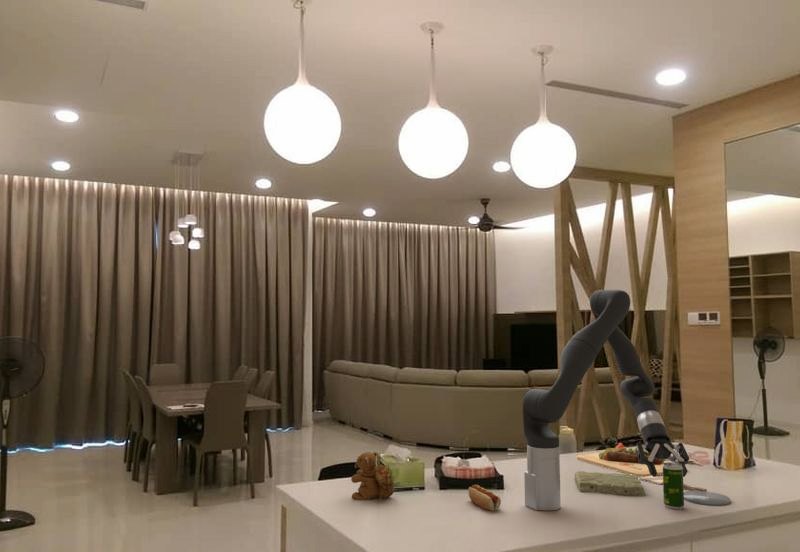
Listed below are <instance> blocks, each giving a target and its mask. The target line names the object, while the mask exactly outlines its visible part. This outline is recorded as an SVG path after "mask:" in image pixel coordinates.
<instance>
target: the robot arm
mask: <svg viewBox="0 0 800 552" xmlns="http://www.w3.org/2000/svg"><path fill="white" fill-rule="evenodd" d="M589 308H590V311H591V313H592V314H593V316H594V319H595V320H594V321H592V322H591V323H589V324H588V325H585V327H582V328H581V329H580V330H578V331H577V332H575V334H573V335H572V337H570V339H569V340H568V342H567V344H566V345H565V346H564V347H563V349H562V352H561V354H560V359H559V360H560V363H559V369H560V370H559V375H558V377H557V379H556V380H555V382H554V384H553V385H552V386H551V387H550V388H549V389H540V388H532V389H529V390H528V391H527V392H525V395H524V397H523V401H522V419H523V422H522V423H523V432H524V433H523V434H524V437H525V439H526V465H527V466H526V468H527V470H526V471H524V473H523V474H524V505H525V506H526V507H528V508H531V509H532V510H534V511H548V512H549V511H556V510H559V509H561V507H562V506H561V463H560V461H561V459H560V455H561V454H560V437H559V436H558V435H557V433H555V432H554V431H553V430H552V429H551V428H550V426H549V424H555V423H557V422H558V421H559V420H561V419H562V417H563V416H564V414H565V413H566V411H567V409H568V406H569V404H570V403H571V401H572V398H573V396H574V394H575V392H576V390H577V388H578V387H579V385H580V383H581V381H582V380H583V378H584V376H585V375H586V373H587V371H588V370H589V368H591V366H592V364H593V363H594V361H595V360H596V359H597V356H598V354H599V353H600V352H601V349H602V348H603V347H604V345H605V343H606V342H607V343H608V344H609V346H610V348H611V351H612V353H613V355H614V359H615V361H616V364H617V368H618V370H619V372H620V373H621V375H623V376H626V377H630V378H627V379H623V380H622V381H621V383H620V385H619V389H620V392H621V394H622V396H623V397H624V398H625V400H626V401H627V402H628V404H629V405H630V407H631V408H632V410H633V412H634V415H635V418H636V421H637V426H638V430H639V432H640V435H641V437H642V440H643V443H644V444H642V443H641V442H637V444H636V446H635V448H636V452H637V455H638V459H639V463H640V464H646V465H647V467H648V469H649V472H650V474H651V475H652V476H653V477H657V476H656V475H657V471H656V468H655V465H654V462H652V461H653V459H654V457H655V458H657V459H665V460H669V461H671V463H679V464H681V465H682V468H683V478H685V477H686V476H687V473H688V472H687V471H688V468H687V467H686V465H687V464H688V462H689V461H690V457H689V455H688V452H687V450H686V448H685V446H684V444H683V443H682V442H679V443H678V444H673V443H672V441H671V438H670V435H669V433H668V430H667V428H666V426H665V425H666V424H665V423H664V420H663V418H662V417H661V415H660V414H661V413H660V412H659V410H658V407H657V405H656V402H655V401H654V400H653V399H652V398H650V396H652V395H653V394H654V393H655V390H656V387H655V384H654V382H653V380H652V378H651V377H650V376H649V375H648V374H647V372H646V371H645V369H644V368H643V365H642V363H641V360H640V357H639V354H638V351H637V349H636V347H635V345H634V343H632V341H631V340H630V339H629V337H628V336H627V335H626V334H625V333H624V332H623V331H622V329H620V327H619V325H620V324H621V323H622V322H623V320H624V319H625V317H626V316H627V315H628V313H629V311H630V308H631V297H630V295H629V294H628V293H627V292H626V291H624V290H621V289H598V290H595V291H593V292H592V294H591V296H590V299H589ZM645 450H646V451H647V452H649V453H650V456H649V458H648V459H647V458H645V454H644V451H645ZM686 468H687V469H686Z"/></svg>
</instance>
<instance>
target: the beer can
mask: <svg viewBox="0 0 800 552" xmlns="http://www.w3.org/2000/svg"><path fill="white" fill-rule="evenodd" d="M663 465H664V466H663V475H662V478H663V484H662V485H663V487H662V488H663V489H662V490H663V504H664V506H665V508H667V509H672V510H682V509H684V506H685V499H684V492H685V489H684V486H683V483H684V477H683V468H682V465H681V464H679V463H675V462H668V463H664V464H663Z"/></svg>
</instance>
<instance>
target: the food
mask: <svg viewBox="0 0 800 552" xmlns="http://www.w3.org/2000/svg"><path fill="white" fill-rule="evenodd" d="M468 497H469V499H470V501H471V502H472V503H474V504H476V506H479V507H480V508H482V509H484V510H487V511H491V512H493V511H498V509H500V507H501V502H502V501H501V498H500V496H498V495H496V494H494V493H493V492H492V491H490V490H488V489H486V488H484V487H482V486H480V485H478V484H472V485H471V486H469V487H468Z"/></svg>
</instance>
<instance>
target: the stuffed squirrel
mask: <svg viewBox="0 0 800 552" xmlns="http://www.w3.org/2000/svg"><path fill="white" fill-rule="evenodd" d="M377 456H378V452H376V451H375V452H374V451H373V452H370V451H369V452H363V453H361V454H360V455H359V456H358V457H357V458H356V461H355V462H356V463H355V465H354V468H355V469H357V467H358V468H359V469H358V470H357V471H356V474H353V475H352V476H351V477H350V478H351V483H353V484H356V483H360V484H359V487H358V489H357V491H355V492H354V493H352V494H351V498H352V499H354V500H360V501H361V500H362V501H366V500H374V499H376V498H377V499H378V500H386V499H388V498H389V497H391V496H393V493H394V492H395V491H396V489H395V488H394V482H393V481H394V480H393V478H394V477H393V475H392V472H391V471H390V469H389V467H388V466H387V465H379V466H377Z"/></svg>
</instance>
